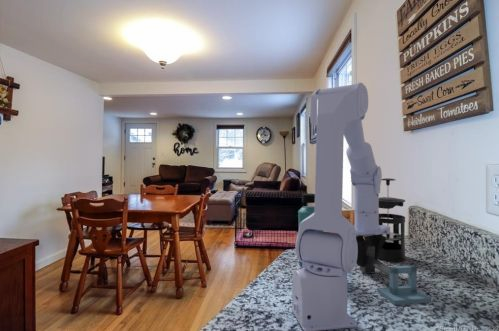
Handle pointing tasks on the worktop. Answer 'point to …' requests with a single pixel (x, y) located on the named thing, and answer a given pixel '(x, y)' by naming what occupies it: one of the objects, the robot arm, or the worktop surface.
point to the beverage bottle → (306, 210)
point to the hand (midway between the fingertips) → (366, 264)
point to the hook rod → (374, 263)
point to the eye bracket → (403, 287)
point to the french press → (393, 249)
